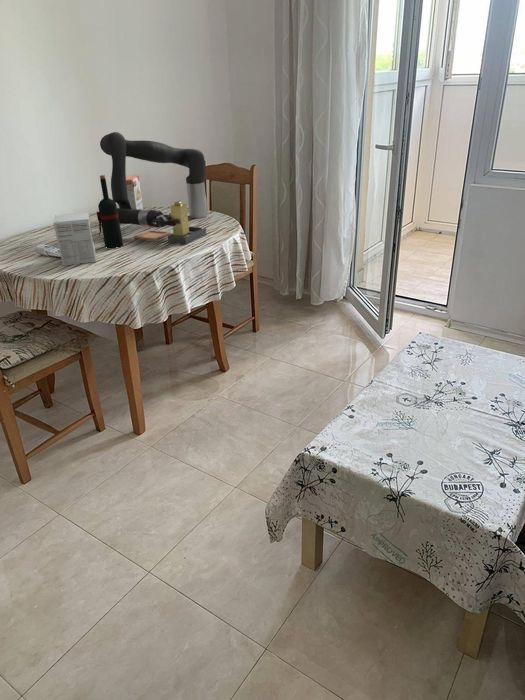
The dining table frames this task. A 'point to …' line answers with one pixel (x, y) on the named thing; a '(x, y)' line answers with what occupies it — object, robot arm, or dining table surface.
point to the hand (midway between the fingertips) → (180, 221)
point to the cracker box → (134, 192)
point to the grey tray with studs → (188, 236)
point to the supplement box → (75, 238)
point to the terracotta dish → (152, 235)
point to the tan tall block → (180, 219)
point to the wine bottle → (109, 219)
